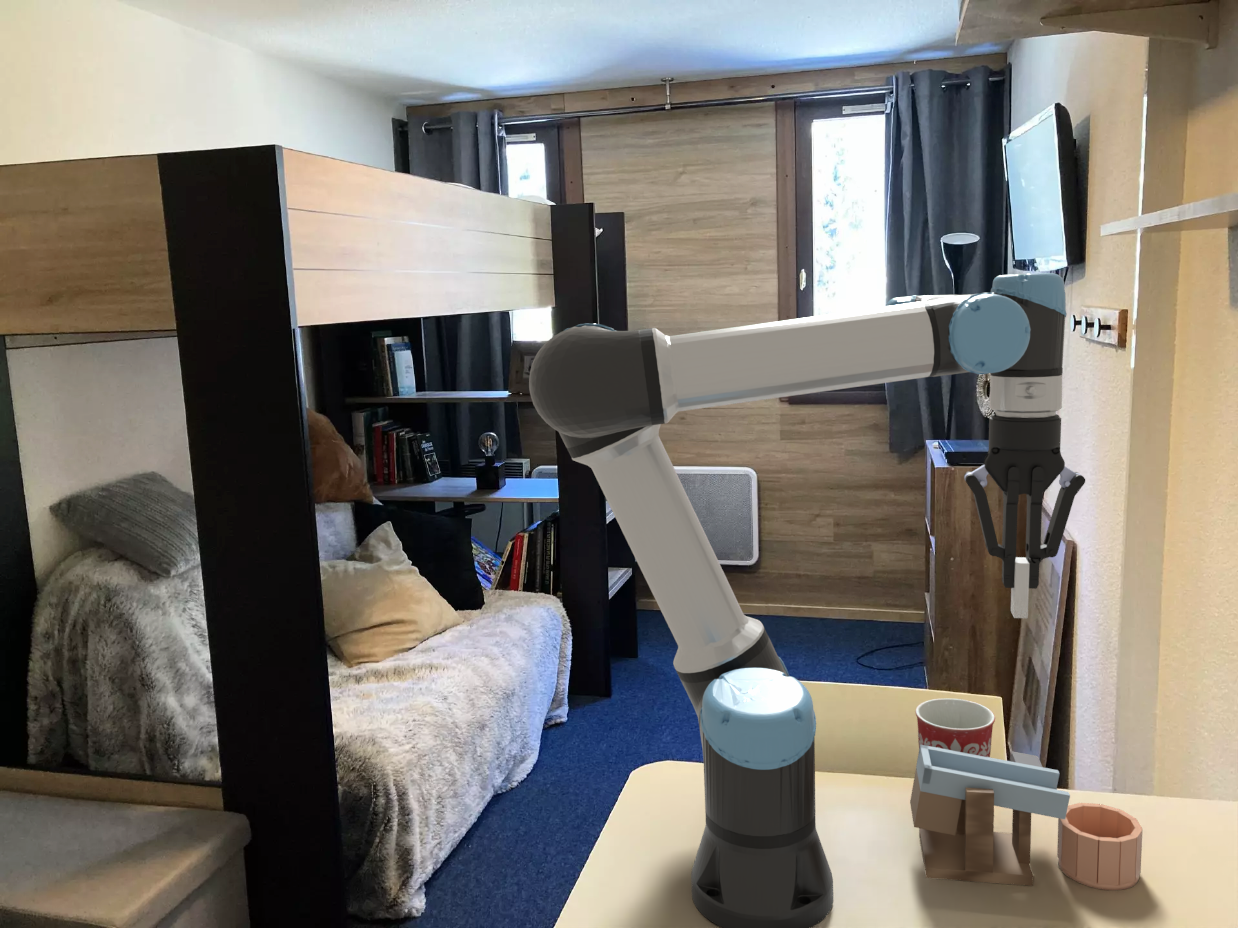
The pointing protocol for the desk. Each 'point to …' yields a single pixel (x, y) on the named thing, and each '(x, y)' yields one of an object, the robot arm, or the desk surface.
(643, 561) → the robot arm
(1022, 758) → the chute
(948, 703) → the mug
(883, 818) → the desk surface
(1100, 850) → the cup
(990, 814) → the stand
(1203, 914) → the desk surface
